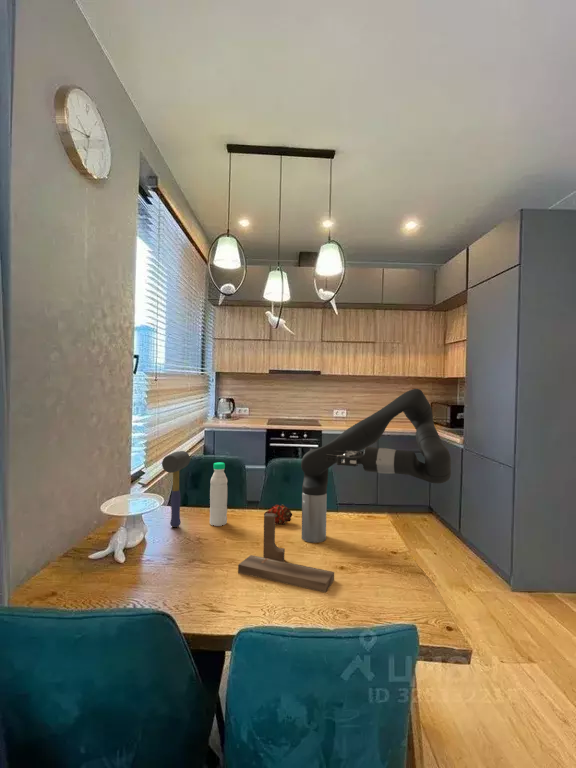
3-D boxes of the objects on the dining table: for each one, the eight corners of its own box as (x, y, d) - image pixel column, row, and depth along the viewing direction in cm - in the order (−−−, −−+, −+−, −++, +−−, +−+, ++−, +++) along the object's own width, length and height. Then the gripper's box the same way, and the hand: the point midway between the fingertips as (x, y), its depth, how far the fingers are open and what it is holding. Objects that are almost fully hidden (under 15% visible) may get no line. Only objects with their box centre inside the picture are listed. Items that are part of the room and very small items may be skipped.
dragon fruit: (293, 529, 169) (265, 531, 172) (295, 512, 176) (268, 514, 179) (289, 516, 165) (260, 518, 167) (291, 499, 172) (263, 501, 174)
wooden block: (263, 562, 134) (263, 515, 134) (264, 558, 137) (265, 512, 137) (283, 563, 133) (284, 516, 133) (284, 559, 136) (285, 513, 137)
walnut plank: (250, 562, 133) (250, 554, 133) (334, 580, 122) (334, 571, 122) (238, 572, 126) (238, 564, 126) (325, 592, 115) (325, 583, 115)
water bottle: (225, 526, 167) (226, 464, 167) (207, 526, 167) (208, 464, 167) (228, 521, 174) (229, 461, 174) (211, 520, 174) (212, 461, 174)
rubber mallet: (173, 521, 172) (174, 449, 172) (190, 522, 171) (191, 450, 171) (159, 531, 160) (160, 454, 160) (177, 533, 158) (178, 455, 159)
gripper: (384, 445, 133) (336, 441, 139) (375, 451, 120) (322, 447, 126) (384, 468, 133) (335, 463, 139) (375, 477, 119) (322, 471, 126)
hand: (329, 455), depth 133 cm, fingers open, 8 cm apart
